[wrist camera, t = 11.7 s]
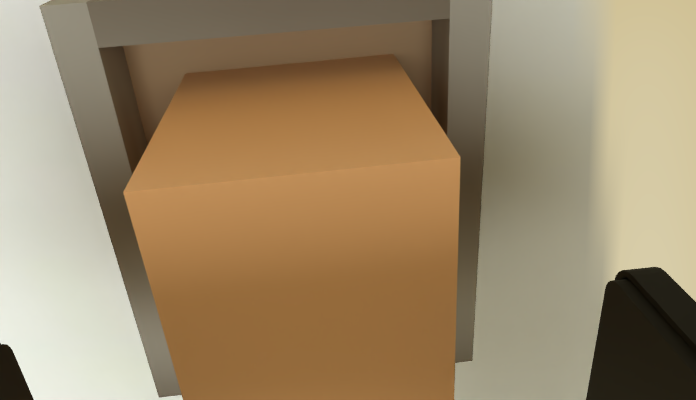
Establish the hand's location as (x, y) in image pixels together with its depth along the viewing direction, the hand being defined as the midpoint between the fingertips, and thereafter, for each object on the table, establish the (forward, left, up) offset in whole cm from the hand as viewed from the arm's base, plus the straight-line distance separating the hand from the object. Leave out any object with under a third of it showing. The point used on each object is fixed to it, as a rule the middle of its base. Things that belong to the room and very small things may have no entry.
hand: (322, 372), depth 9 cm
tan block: (+1, 0, -6) cm, 6 cm away
